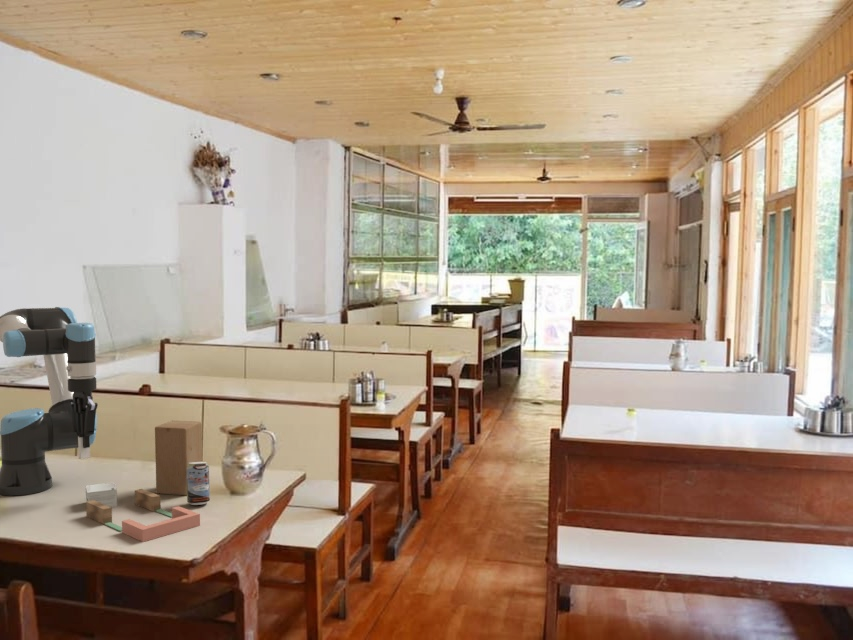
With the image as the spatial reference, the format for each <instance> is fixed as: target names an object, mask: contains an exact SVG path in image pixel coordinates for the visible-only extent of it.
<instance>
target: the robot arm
mask: <svg viewBox="0 0 853 640" xmlns="http://www.w3.org/2000/svg"><path fill="white" fill-rule="evenodd" d="M0 342H1V343H2V347H3V353H4V355H5V356H6V357H8V358H11V357H12V358H21V357H33V356H43V360H44V367H45V371H46V376H47V382H48V387H49V388H48V389H49V393H50V394H49V395H50V401H51V406H50V407H49V409H48V411H47V412H45V410H44V409H43V408H38V407H35V408H28V409H22V410H18V411H17V410H16V411H13V412H10V413H9V414H6V415H4V416H3V417H2V418H1V419H0V453H1V454H0V455H1V456H0V458H1V466H0V495H2V496H23V495H24V496H25V495H26V496H27V495H31V494H38V493H40V492H44V491H47V490H49V489H51V488H52V487H53V477H52V475H51V472H50V470H49V467H48V465H47V462H46V453H47V452H53V451H61V450H62V451H63V450H71V449H78V451H77V452H78V459H79V460H81V461H82V460H86V459H91V446H92V445H93V444H94V443H95V441H96V437H97V436H96V435H97V427H98V426H97V425H98V416H97V415H98V414H97V409H98V402H94V401H93V399H94V398H93V393H92V392H93V391H96V390H97V378H96V375H97V361H96V331H95V325H94V324H93V323H91V322H78V321H77V317H76V315H75V313H74V311H73V310H72V309H71V308H69V307H61V306H60V307H59V306H55V307H46V308H45V307H40V308H39V307H37V308H33V307H32V308H30V307H29V308H17V309H13V310H10V311H7V312H5V313H4V314H2V315H0Z"/></svg>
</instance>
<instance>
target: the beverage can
mask: <svg viewBox="0 0 853 640" xmlns="http://www.w3.org/2000/svg"><path fill="white" fill-rule="evenodd" d="M210 495H211V494H210V466H209V464H208V462H207V461H202V462H191V463H189V465H188V467H187V495H186V497H187V498H186V501H187V503H189V504H190V505H191V506H198V505H206V504H208V502H209V501H210V499H211V497H210Z"/></svg>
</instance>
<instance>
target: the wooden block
mask: <svg viewBox="0 0 853 640" xmlns="http://www.w3.org/2000/svg"><path fill="white" fill-rule="evenodd" d="M202 432H203V431H202V422H201V421H193V420H190V421H188V420H174V419H173V420H170V421H167V422H164V423H162V424H160V425H157V426H155V427H154V443H155V444H154V445H155V446H154V449H155V450H154V451H155V452H154V453H155V456H154V457H155V486H156V487H155V491H156V494H159V493H160V494H161V495H172V496H174V495H176V496H187V467H188V465H189V463H191V462H203V445H202V444H203V443H202V442H203V441H202V440H203V437H202Z"/></svg>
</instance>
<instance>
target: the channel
mask: <svg viewBox="0 0 853 640" xmlns="http://www.w3.org/2000/svg"><path fill="white" fill-rule="evenodd" d="M134 504H135V505H136V506H138V507H141V508H143V509H146V510H149V511H151V512H153V513H154V512H155V513H156V510H159V509H162V508H161V507H162V506H161V495H159V494H158V493H154V492H152V491H149V490H145V489H143V488H140V489H135V490H134ZM112 511H113V507H109V506H106V505H104V504H101V503H99V502H97V501H94V500H92V501H87V502H86V501H85V512H86V517H87V518H89V519H90V520H93V521H96V522H98V523H99V524H103V525H105V523H109V522H111V523H113V512H112ZM105 526H106V525H105Z"/></svg>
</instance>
